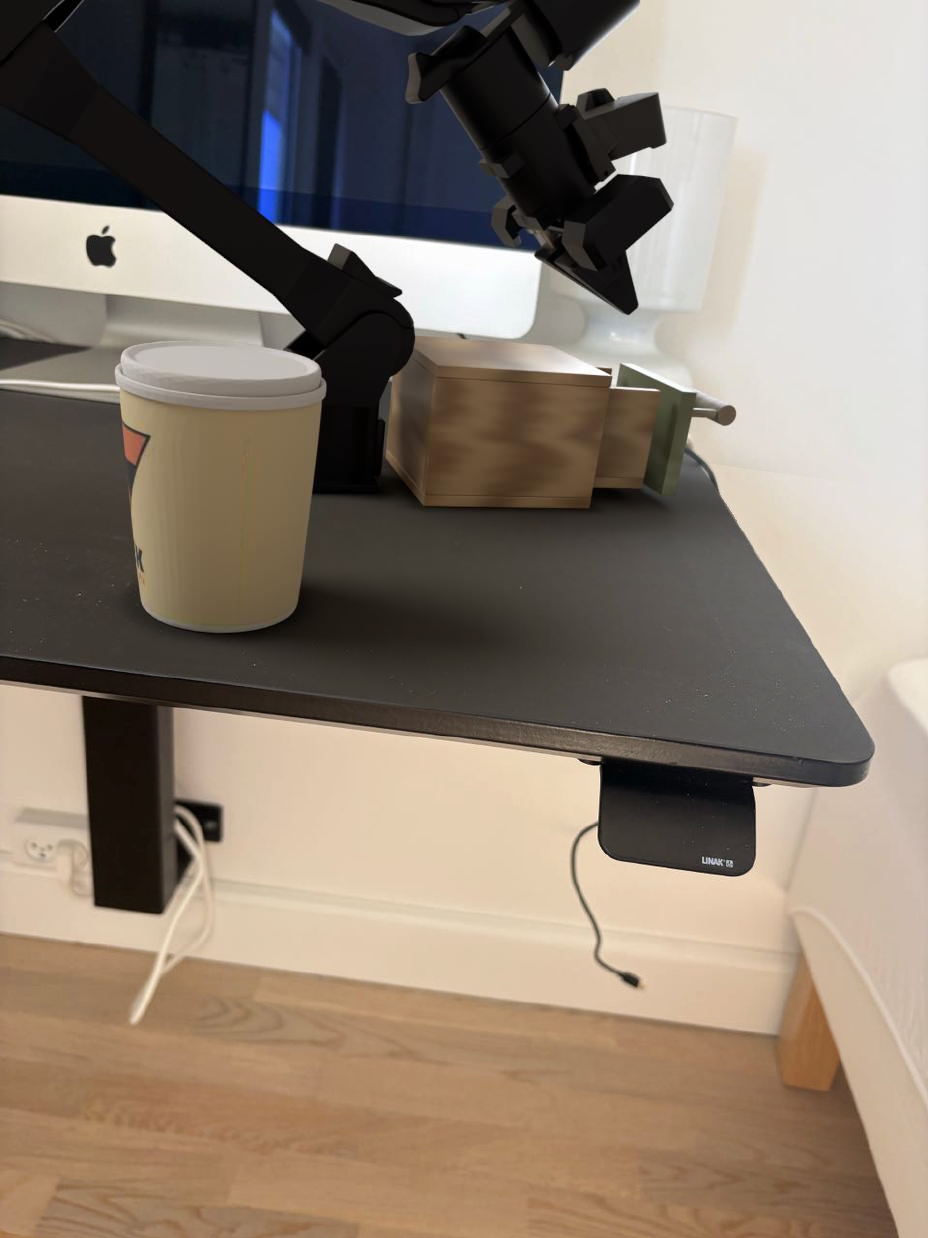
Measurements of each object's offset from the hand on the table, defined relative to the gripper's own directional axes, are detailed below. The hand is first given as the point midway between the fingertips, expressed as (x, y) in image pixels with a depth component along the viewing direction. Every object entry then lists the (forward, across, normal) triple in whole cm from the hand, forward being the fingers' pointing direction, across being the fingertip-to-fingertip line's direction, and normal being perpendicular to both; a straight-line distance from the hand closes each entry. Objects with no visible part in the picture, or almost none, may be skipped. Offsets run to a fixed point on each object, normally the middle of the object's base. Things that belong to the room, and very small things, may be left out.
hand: (631, 310), depth 71 cm
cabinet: (+3, 0, +16) cm, 17 cm away
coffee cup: (-12, -21, +32) cm, 40 cm away
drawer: (+9, 0, +8) cm, 13 cm away
